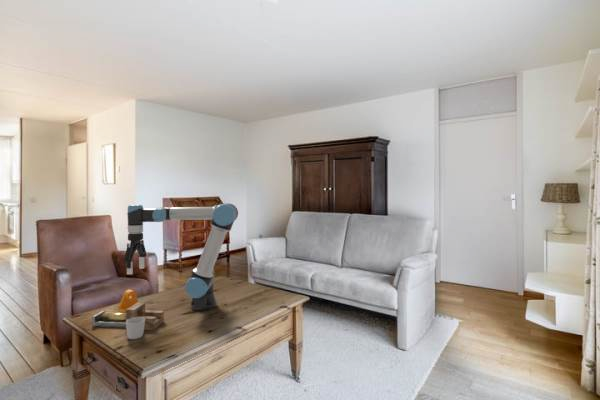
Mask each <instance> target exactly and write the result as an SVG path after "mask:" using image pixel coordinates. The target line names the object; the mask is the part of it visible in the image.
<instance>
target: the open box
mask: <svg viewBox="0 0 600 400" xmlns="http://www.w3.org/2000/svg"><path fill="white" fill-rule="evenodd" d="M135 317H142V318H144V319H145V324H144V331H145V330H147V331H148V330H149V331H155V329H157V328H158V327H159V326H161V324H163V322H164V321H165V320H164V319H165V310H153V309H152V310H151V309H150V310H147V309H146V302H139V301H138V303H136V304H134V305H133V306H131V307H130V308H128V309H126V321H127V320H128V319H131V318H135Z"/></svg>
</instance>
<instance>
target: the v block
mask: <svg viewBox="0 0 600 400" xmlns="http://www.w3.org/2000/svg"><path fill="white" fill-rule="evenodd" d="M105 312H106V310H101V311H99V312H98V313H96V314H94V315H93V316H92V318H91V319H92V320H91V321H92V322H91V323H92V326H91V327H95V326H101V327H102V328H103V327H104V328H122V329H123V328H125V329H126V322H109V321H102V315H103V314H104V313H105ZM101 327H100V328H101Z"/></svg>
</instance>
